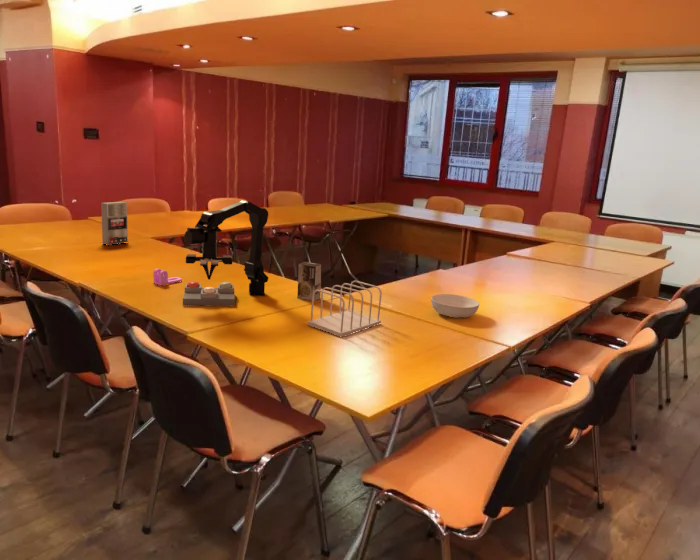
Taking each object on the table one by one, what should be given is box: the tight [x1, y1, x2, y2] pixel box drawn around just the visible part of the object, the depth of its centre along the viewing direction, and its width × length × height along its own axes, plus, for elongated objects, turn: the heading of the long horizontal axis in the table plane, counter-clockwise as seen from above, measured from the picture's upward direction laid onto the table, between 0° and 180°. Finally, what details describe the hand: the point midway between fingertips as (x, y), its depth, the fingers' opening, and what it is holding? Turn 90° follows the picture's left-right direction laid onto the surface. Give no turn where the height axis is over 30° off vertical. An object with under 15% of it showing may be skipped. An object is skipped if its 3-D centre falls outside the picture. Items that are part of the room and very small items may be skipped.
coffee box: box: [297, 261, 323, 302], centre depth 255 cm, size 9×6×16 cm
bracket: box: [152, 268, 183, 286], centre depth 265 cm, size 13×6×7 cm, turn 145°
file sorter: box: [307, 280, 382, 338], centre depth 222 cm, size 25×17×16 cm
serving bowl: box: [430, 293, 480, 318], centre depth 247 cm, size 21×21×7 cm
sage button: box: [220, 281, 232, 288], centre depth 247 cm, size 4×4×3 cm
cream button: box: [203, 286, 216, 293], centre depth 237 cm, size 4×4×3 cm
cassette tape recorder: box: [100, 201, 129, 246], centre depth 337 cm, size 14×6×25 cm, turn 147°
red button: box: [187, 280, 200, 288], centre depth 244 cm, size 4×4×3 cm
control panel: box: [182, 283, 236, 307], centre depth 242 cm, size 21×17×5 cm
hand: (209, 279), depth 236 cm, fingers closed
